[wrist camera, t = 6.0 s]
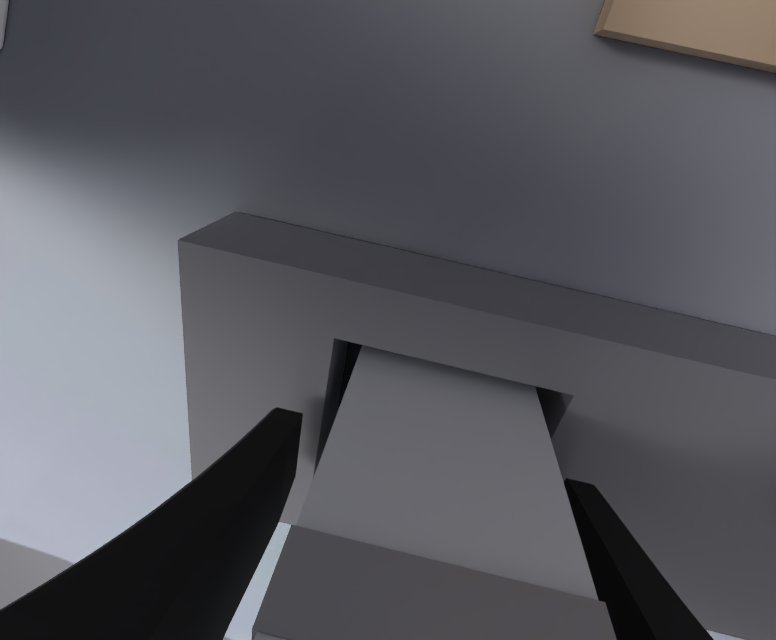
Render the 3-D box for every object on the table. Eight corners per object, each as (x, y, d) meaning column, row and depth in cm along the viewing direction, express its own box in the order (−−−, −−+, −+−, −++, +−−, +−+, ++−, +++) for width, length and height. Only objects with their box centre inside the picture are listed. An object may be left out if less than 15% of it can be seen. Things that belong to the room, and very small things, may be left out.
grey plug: (523, 339, 11) (652, 756, 4) (479, 448, 13) (513, 854, 6) (374, 305, 11) (243, 651, 4) (353, 417, 13) (241, 780, 6)
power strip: (1300, 457, 10) (1667, 609, 7) (996, 628, 13) (1145, 771, 11) (235, 211, 10) (152, 252, 7) (233, 438, 14) (177, 524, 11)
